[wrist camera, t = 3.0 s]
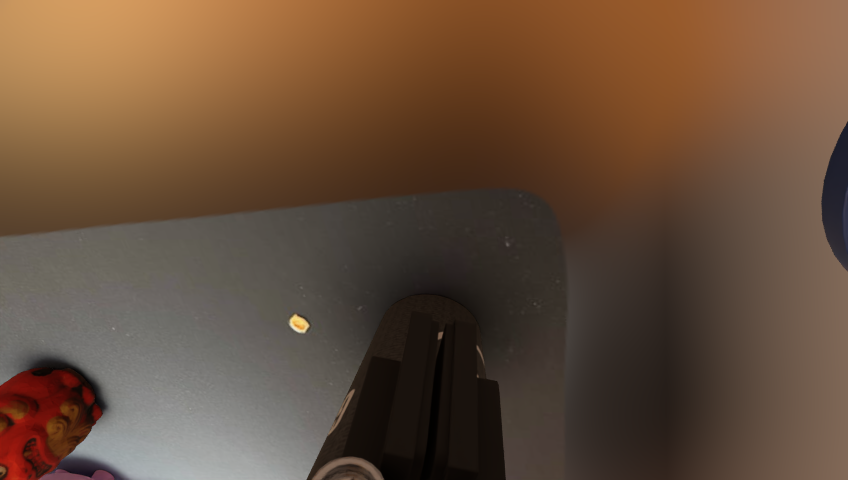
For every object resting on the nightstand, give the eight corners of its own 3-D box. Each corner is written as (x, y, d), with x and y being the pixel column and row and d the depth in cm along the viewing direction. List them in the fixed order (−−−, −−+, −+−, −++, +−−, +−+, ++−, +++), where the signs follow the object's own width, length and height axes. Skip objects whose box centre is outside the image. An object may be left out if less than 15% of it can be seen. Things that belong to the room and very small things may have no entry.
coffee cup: (371, 254, 25) (248, 524, 12) (528, 297, 25) (579, 612, 12) (346, 367, 30) (239, 652, 16) (479, 403, 30) (476, 714, 17)
